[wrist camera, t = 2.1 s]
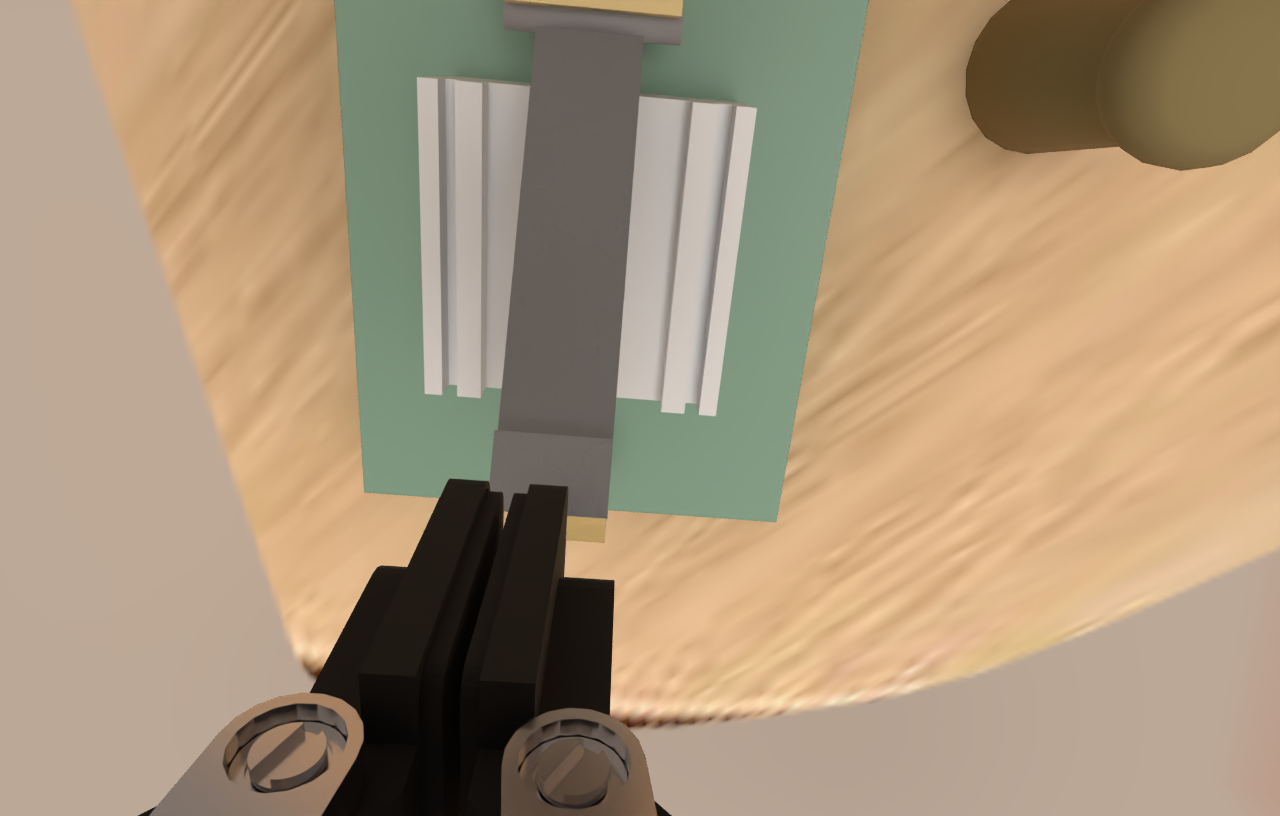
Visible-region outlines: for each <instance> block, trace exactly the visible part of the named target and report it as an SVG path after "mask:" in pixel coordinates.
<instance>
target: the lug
mask: <svg viewBox="0 0 1280 816" xmlns="http://www.w3.org/2000/svg"><path fill="white" fill-rule="evenodd" d="M605 528H606V519H604V518H590V517H576V516H567V528H566V540H570V541H584V542H599V543H604V541H605Z"/></svg>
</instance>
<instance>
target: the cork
mask: <svg viewBox="0 0 1280 816" xmlns="http://www.w3.org/2000/svg"><path fill="white" fill-rule="evenodd" d="M966 98H967V102H968V105H969V109H970V112H971V116H972V119H973V120H974V122H975V123H976V124H977V126H978V127H979V128H980V130H981V131H982V133H983V134H984V135H985V137H986V138H988V139H989V140H991V141H993V142H994V143H996V144H997V145H999V146H1000V147H1002V148H1004V149H1006V150H1011V151H1016V152H1021V153H1026V154H1031V153H1044V152H1056V151H1069V150H1082V149H1095V148H1107V147H1120V148H1121V149H1123V150H1124V151H1126V152H1127V153H1129V154H1130V155H1132V156H1133V157H1135V158H1136V159H1138V160H1139V161H1141V162H1142V163H1147V164H1151V165H1156V166H1161V167H1166V168H1171V169H1175V170H1180V171H1182V170H1190V169H1198V168H1206V167H1212V166H1217V165H1223V164H1225V163H1228V162H1230V161H1232V160H1234V159H1237V158H1239V157H1241V156H1244V155H1246V154H1248V153H1251V152H1252V151H1254V150H1255V149H1256V148H1258V147H1259V146H1260V145H1262V144H1263V143H1264V142H1265V141H1267V140H1268V139H1269V138H1271V137H1272V136H1273V135H1275V134H1276V133H1277V132H1279V131H1280V0H1011V1H1009V2H1008V3H1007V4H1006V5H1005V6H1004V7H1003V8H1002V9H1001V10H999V11H998V12H997V13H996V14H995V15H994V16H993V17H992V18H991V19H990V20H989V22H988V24H987V25H986V27H985V28H984V30H983V31H982V33H981V34H980V36H979V37H978V39H977V40H976V42H975V45H974V48H973V51H972V54H971V57H970V60H969V63H968V66H967V72H966Z"/></svg>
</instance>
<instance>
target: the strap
mask: <svg viewBox="0 0 1280 816" xmlns="http://www.w3.org/2000/svg"><path fill="white" fill-rule="evenodd" d="M643 43H644V36H639V35H628V34H618V33H607V32H596V31H585V30H575V29H564V28H553V27H543V26H536V30H535V41H534V52H533V62H532V73H531V83H530V94H529V105H528V115H527V126H526V136H525V147H524V158H523V168H522V179H521V189H520V200H519V211H518V221H517V232H516V242H515V253H514V264H513V274H512V285H511V295H510V306H509V317H508V327H507V338H506V348H505V359H504V370H503V380H502V391H501V401H500V412H499V423H498V430H494V439H493V450H492V460H491V471H490V481H489V483H490V491H495V492H503V497H504V511H507V512H508V511H509V508H510V504H511V501H512V498H513V494H514V493H525V494H527V492H528V489H529V485H530V484H540V485H554V486H568V509H567V516H576V517H590V518H604V519H607V515H608V502H609V489H610V476H611V463H612V449H613V435H614V422H615V409H616V396H617V383H618V370H619V357H620V344H621V331H622V318H623V305H624V291H625V278H626V265H627V252H628V239H629V226H630V213H631V200H632V187H633V174H634V161H635V148H636V135H637V122H638V109H639V96H640V82H641V69H642V56H643Z"/></svg>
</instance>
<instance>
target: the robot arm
mask: <svg viewBox="0 0 1280 816" xmlns="http://www.w3.org/2000/svg"><path fill="white" fill-rule="evenodd" d="M567 509H568V486H554V485H540V484H530V485H529V489H528V492H527V494H525V493H514V494H513V498H512V501H511V504H510V508H509V511H508V515H507V518H506V522H505V525H504V529H503V513H504V497H503V492H495V491H490V483H489V481H481V480H466V479H452V478H450V479H449V480H448V481H447V483H446V485H445V487H444V490H443V492H442V494H441V496H440V498H439V500H438V502H437V505H436V507H435V509H434V511H433V513H432V515H431V518H430V520H429V522H428V524H427V526H426V528H425V530H424V533H423V535H422V537H421V539H420V541H419V543H418V546H417V548H416V550H415V552H414V554H413V556H412V558H411V561H410V563H409V565H408V567H397V566H379V567H377V568H376V570H375V571H374V573H373V574H372V576H371V578H370V580H369V582H368V584H367V585H366V587H365V589H364V591H363V593H362V595H361V597H360V599H359V601H358V602H357V604H356V606H355V608H354V610H353V612H352V614H351V616H350V618H349V619H348V621H347V623H346V625H345V627H344V629H343V631H342V633H341V635H340V636H339V638H338V640H337V642H336V644H335V646H334V648H333V650H332V652H331V653H330V655H329V657H328V659H327V661H326V663H325V665H324V667H323V669H322V671H321V672H320V674H319V676H318V678H317V680H316V682H315V684H314V686H313V688H312V690H311V692H310V693H298V694H292V695H286V696H280V697H277V698H274V699H271V700H269V701H266V702H263V703H260V704H258V705H256V706H254V707H252V708H251V709H249V710H247V711H246V712H244V713H242V714H240V715H239V716H237V717H236V718H235V719H233V720H232V721H231V722H230V723H229V724H228V725H227V726H226V727H225V728H224V729H223V730H221V731H220V733H218V735H217V736H216V737H215V738H214V739H213V740H212V742H211V743H210V744H209V745H208V747H207V748H206V749H205V750H204V751H203V752H202V754H201V755H200V756H199V757H198V758H197V759H196V761H195V762H194V763H193V764H192V765H191V767H190V768H189V769H188V770H187V771H186V772H185V774H184V775H183V776H182V777H181V778H180V780H179V781H178V782H177V783H176V784H175V785H174V787H173V788H172V789H171V790H170V791H169V793H168V794H167V795H166V796H165V798H163V800H162V801H161V802H160V803H159V804H158V806H156V807H154V808H152V809H150V810H148V811H147V812H144V813H143V814H140V815H138V816H671V815H670V814H669V813H668V812H667V811H666V810H664V809H663V808H662V807H661V806H660V805H659V804H657V803H656V802H655V801H654V797H653V792H652V787H651V782H650V777H649V772H648V767H647V762H646V758H645V754H644V752H643V750H642V747H641V745H640V742H639V740H638V739H637V737H636V736H635V735H634V734H633V733H632V732H631V731H630V730H629V728H628V727H627V726H626V725H624V724H623V723H621V722H619V721H618V720H616V719H615V718H613V717H611V716H610V692H611V665H612V638H613V611H614V580H600V579H584V578H569V577H564V566H565V547H566V528H567Z"/></svg>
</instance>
